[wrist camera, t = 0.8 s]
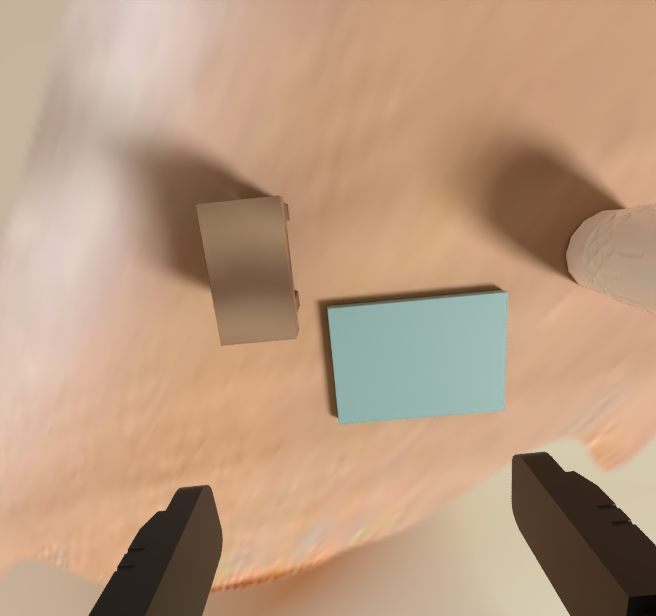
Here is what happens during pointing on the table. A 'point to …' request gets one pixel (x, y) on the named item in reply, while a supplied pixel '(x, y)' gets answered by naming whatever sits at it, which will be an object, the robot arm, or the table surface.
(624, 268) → the white cup
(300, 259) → the table surface
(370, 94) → the table surface
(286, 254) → the tan slab with prongs
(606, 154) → the table surface
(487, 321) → the board
